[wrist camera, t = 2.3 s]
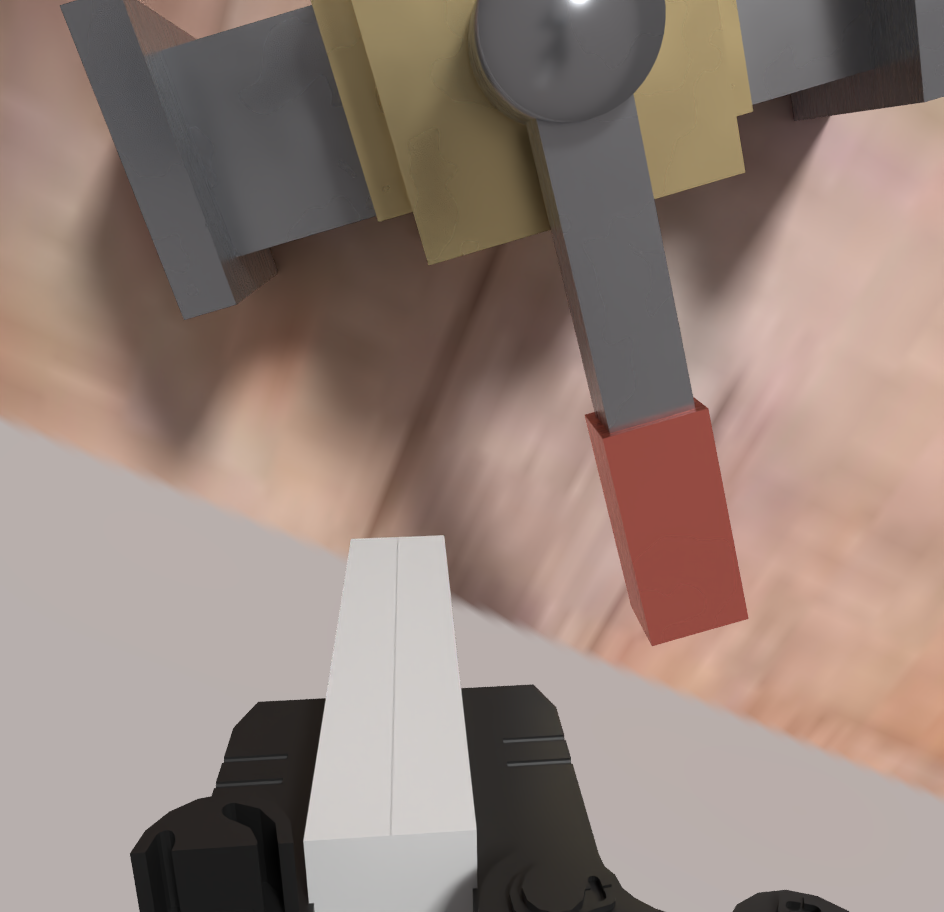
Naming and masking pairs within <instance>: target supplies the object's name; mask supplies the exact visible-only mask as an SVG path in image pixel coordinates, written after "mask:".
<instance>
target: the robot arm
mask: <svg viewBox="0 0 944 912" xmlns="http://www.w3.org/2000/svg"><path fill="white" fill-rule="evenodd" d="M130 856H131V862H132V868H133V874H134V880H135V886H136V892H137V898H138V904H139V910H140V912H664V911H661V910H658V909H655V908H653V907H651V906H649V905H647V904H645V903H643V902H641V901H640V900H638V899H636V898H634V897H633V896H632V895H631V894H629V893H628V892H627V891H625V890H624V889H623V888H622V887H621V885H620V883H619V881H618V879H617V878H616V876H615V874H613V873H612V872H611V871H610V870H608V869H607V868H606V867H605V866H604V864H603V862H602V860H601V858H600V856H599V854H598V850H597V847H596V843H595V840H594V836H593V833H592V830H591V826H590V822H589V819H588V816H587V812H586V809H585V806H584V802H583V798H582V795H581V791H580V788H579V785H578V781H577V778H576V774H575V771H574V767H573V764H571V757H570V753H569V750H568V747H567V743H566V740H564V733H563V729H562V726H561V722H560V719H559V716H558V712H557V709H556V707H555V706H554V705H553V704H552V703H551V702H550V701H549V700H548V699H547V698H546V697H545V696H544V695H543V694H542V693H541V692H540V691H539V690H538V689H537V688H536V687H535V686H534V685H516V686H497V687H478V688H461V683H460V675H459V665H458V656H457V648H456V638H455V629H454V620H453V612H452V602H451V593H450V584H449V575H448V566H447V557H446V548H445V539H444V535H439V536H414V537H389V538H365V539H351V542H350V549H349V555H348V561H347V568H346V574H345V581H344V587H343V593H342V600H341V606H340V613H339V618H338V625H337V631H336V638H335V644H334V650H333V657H332V664H331V669H330V676H329V683H328V688H327V695H326V698H324V699H305V700H287V701H267V702H258V703H257V704H256V705H255V706H254V707H253V708H252V709H251V710H250V711H249V712H248V713H247V714H246V715H245V716H244V717H243V718H242V719H241V721H240V722H239V723H238V724H237V725H236V726H235V727H234V728H233V731H232V734H231V738H230V741H229V744H228V747H227V750H226V753H225V756H224V763H222V765H221V769H220V772H219V775H218V778H217V781H216V788H214V790H213V793H212V796H211V797H206V798H201V799H197V800H195V801H192V802H190V803H188V804H186V805H184V806H181V807H179V808H177V809H174V810H172V811H170V812H169V813H167V814H166V815H165V816H163V817H162V818H161V819H160V820H158V821H157V822H156V823H154V824H153V825H152V826H151V827H150V828H148V829H147V830H146V831H145V832H144V833H143V835H142V837H141V838H140V839H139V841H138V843H137V844H136V845H135V847H134V849H133V850H132V851H131V853H130ZM733 912H849V911H847V910H845V909H843V908H841V907H839V906H837V905H835V904H832V903H831V902H828V901H826V900H824V899H822V898H820V897H818V896H814V895H809V894H804V893H799V892H794V891H789V890H780V891H771V892H761V893H757V894H755V895H753V896H752V897H750V898H748V899H746V900H744V901H743V902H741V903H739V904H737V905H736V907H735V909H734V910H733Z"/></svg>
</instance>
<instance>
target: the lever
mask: <svg viewBox="0 0 944 912" xmlns="http://www.w3.org/2000/svg"><path fill="white" fill-rule="evenodd" d="M665 21H666V5H665V0H476V2H475V4H474V7H473V11H472V14H471V17H470V23H469V29H468V50H469V57H470V62H471V67H472V70H473V73H474V76H475V78H476V80H477V82H478V85H479V87H480V88H481V90H482V91H483V93H484V95H485V96H486V97H487V99H488V100H489V101H490V102H491V103H492V105H494V106H495V107H496V108H497V109H498V110H499V111H500V112H501V113H503V114H504V115H505V116H507V117H508V118H510V119H512V120H514V121H516V122H518V123H520V124H523V125H526V127H527V132H528V136H529V140H530V144H531V148H532V153H533V157H534V161H535V165H536V169H537V173H538V178H539V182H540V186H541V190H542V194H543V199H544V203H545V207H546V211H547V215H548V219H549V224H550V228H551V232H552V236H553V240H554V244H555V249H556V253H557V257H558V261H559V265H560V270H561V274H562V278H563V282H564V286H565V290H566V295H567V299H568V303H569V307H570V311H571V316H572V320H573V324H574V328H575V332H576V336H577V341H578V345H579V349H580V353H581V357H582V362H583V366H584V370H585V374H586V378H587V382H588V387H589V391H590V395H591V399H592V403H593V408H594V412H593V413H589V414H586V415H585V419H586V423H587V427H588V431H589V435H590V439H591V443H592V447H593V451H594V455H595V460H596V464H597V468H598V472H599V476H600V480H601V484H602V488H603V492H604V497H605V501H606V505H607V509H608V513H609V517H610V521H611V525H612V529H613V533H614V538H615V542H616V546H617V550H618V554H619V558H620V562H621V566H622V570H623V575H624V579H625V583H626V587H627V591H628V595H629V599H630V603H631V607H632V609H633V611H634V613H635V615H636V616H637V618H638V620H639V622H640V624H641V626H642V628H643V630H644V632H645V634H646V636H647V637H648V639H649V641H650V643H651V645H652V646H654V645H658V644H661V643H665V642H668V641H672V640H675V639H679V638H682V637H686V636H689V635H693V634H696V633H700V632H703V631H707V630H711V629H714V628H718V627H721V626H725V625H728V624H732V623H735V622H739V621H742V620H746V619H748V614H747V609H746V603H745V598H744V593H743V588H742V582H741V577H740V572H739V567H738V562H737V556H736V551H735V546H734V541H733V535H732V530H731V525H730V520H729V515H728V509H727V504H726V499H725V494H724V488H723V483H722V478H721V473H720V467H719V462H718V457H717V452H716V447H715V441H714V436H713V431H712V426H711V420H710V415H709V410H708V408H707V407H706V406H704V405H703V404H702V403H700V402H699V401H698V400H697V399H695V398H694V397H693V394H692V389H691V384H690V379H689V374H688V369H687V364H686V359H685V354H684V348H683V343H682V338H681V333H680V328H679V323H678V318H677V313H676V308H675V303H674V298H673V293H672V287H671V282H670V277H669V272H668V267H667V262H666V257H665V252H664V247H663V242H662V237H661V232H660V226H659V221H658V216H657V211H656V206H655V201H654V196H653V191H652V186H651V181H650V176H649V171H648V166H647V160H646V155H645V150H644V145H643V140H642V135H641V130H640V125H639V120H638V115H637V110H636V105H635V99H634V93H635V92H636V90H637V89H638V88H639V87H640V86H641V84H642V83H643V82H644V80H645V79H646V77H647V76H648V74H649V73H650V71H651V69H652V67H653V65H654V63H655V61H656V59H657V56H658V53H659V51H660V48H661V44H662V40H663V36H664V30H665Z"/></svg>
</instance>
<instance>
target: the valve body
mask: <svg viewBox="0 0 944 912" xmlns="http://www.w3.org/2000/svg"><path fill="white" fill-rule="evenodd" d="M475 2H476V0H311V3H312V5H310V6H307V7H304V8H300V9H297V10H294V11H290V12H287V13H284V14H280V15H277V16H274V17H270V18H267V19H264V20H260V21H257V22H254V23H250V24H247V25H244V26H240V27H237V28H234V29H230V30H227V31H224V32H220V33H217V34H214V35H210V36H207V37H204V38H200V39H197V40H196V39H195V38H194V37H192V36H191V35H189V34H188V33H186V32H185V31H183V30H182V29H180V28H179V27H177V26H176V25H174V24H173V23H171V22H170V21H168V20H166V19H165V18H163V17H162V16H160V15H159V14H157V13H156V12H154V11H153V10H151V9H150V8H148V7H147V6H145V5H144V4H142V3H141V2H139V1H138V0H76V1H73V2H70V3H66V4H63V5H60V7H61V10H62V13H63V15H64V18H65V20H66V23H67V25H68V28H69V30H70V33H71V35H72V38H73V40H74V43H75V45H76V48H77V50H78V53H79V55H80V58H81V61H82V63H83V66H84V68H85V71H86V73H87V76H88V78H89V81H90V83H91V86H92V88H93V91H94V93H95V96H96V98H97V101H98V103H99V106H100V109H101V111H102V114H103V116H104V119H105V121H106V124H107V126H108V129H109V131H110V134H111V136H112V139H113V141H114V144H115V146H116V149H117V152H118V154H119V157H120V159H121V162H122V164H123V167H124V169H125V172H126V174H127V177H128V179H129V182H130V184H131V187H132V189H133V192H134V194H135V197H136V200H137V202H138V205H139V207H140V210H141V212H142V215H143V217H144V220H145V222H146V225H147V227H148V230H149V232H150V235H151V237H152V240H153V243H154V245H155V248H156V250H157V253H158V255H159V258H160V260H161V263H162V265H163V268H164V270H165V273H166V275H167V278H168V280H169V283H170V285H171V288H172V291H173V293H174V296H175V298H176V301H177V303H178V306H179V308H180V311H181V313H182V316H183V318H184V320H186V319H189V318H192V317H196V316H199V315H203V314H206V313H209V312H213V311H216V310H220V309H223V308H226V307H230V306H233V305H236V304H238V303H239V302H240V301H242V300H243V299H244V298H246V297H247V296H248V295H250V294H251V293H252V292H254V291H255V290H256V289H258V288H259V287H260V286H262V285H263V284H264V283H266V282H267V281H268V280H270V279H271V278H272V277H274V276H275V275H276V274H278V271H277V268H276V265H275V262H274V259H273V256H272V254H271V251H270V248H269V247H273V246H276V245H279V244H283V243H286V242H289V241H293V240H296V239H300V238H303V237H306V236H310V235H313V234H317V233H320V232H323V231H327V230H330V229H333V228H337V227H340V226H344V225H347V224H350V223H354V222H357V221H361V220H364V219H367V218H371V217H374V216H377V219H378V222H381V221H384V220H387V219H391V218H394V217H398V216H401V215H404V214H408V213H411V212H413V214H414V218H415V221H416V224H417V228H418V231H419V235H420V238H421V242H422V245H423V249H424V252H425V255H426V259H427V262H428V266H429V265H432V264H436V263H439V262H442V261H446V260H449V259H453V258H456V257H459V256H463V255H466V254H470V253H473V252H476V251H480V250H483V249H487V248H490V247H493V246H497V245H500V244H504V243H507V242H510V241H514V240H517V239H521V238H524V237H527V236H531V235H534V234H538V233H541V232H544V231H548V230H551V228H550V224H549V219H548V215H547V211H546V207H545V203H544V199H543V194H542V190H541V186H540V182H539V178H538V173H537V169H536V165H535V161H534V157H533V153H532V148H531V144H530V140H529V136H528V132H527V127H526V125H523V124H520V123H518V122H516V121H514V120H512V119H510V118H508V117H507V116H505V115H504V114H503V113H501V112H500V111H499V110H498V109H497V108H496V107H495V106H494V105H492V103H491V102H490V101H489V100H488V99H487V97H486V96H485V95H484V93H483V91H482V90H481V88H480V87H479V85H478V82H477V80H476V78H475V76H474V73H473V70H472V67H471V62H470V57H469V50H468V29H469V23H470V17H471V14H472V11H473V7H474V4H475ZM665 5H666V21H665V30H664V36H663V40H662V44H661V48H660V51H659V53H658V56H657V59H656V61H655V63H654V65H653V67H652V69H651V71H650V73H649V74H648V76H647V77H646V79H645V80H644V82H643V83H642V84H641V86H640V87H639V88H638V89H637V90H636V92H635V93H634V99H635V105H636V110H637V115H638V120H639V125H640V130H641V135H642V140H643V145H644V150H645V155H646V160H647V166H648V171H649V176H650V181H651V186H652V191H653V196H654V199H657V198H660V197H664V196H667V195H670V194H674V193H677V192H681V191H684V190H687V189H691V188H694V187H698V186H701V185H704V184H708V183H711V182H715V181H718V180H721V179H725V178H728V177H732V176H735V175H738V174H742V173H745V167H744V161H743V154H742V148H741V142H740V136H739V129H738V123H737V117H736V116H740V115H743V114H747V113H750V112H753V107H752V105H753V104H757V103H760V102H764V101H767V100H770V99H774V98H777V97H781V96H784V95H787V94H791V99H792V106H793V113H794V121H798V120H804V119H811V118H818V117H825V116H832V115H839V114H846V113H853V112H860V111H867V110H874V109H881V108H887V107H894V106H901V105H908V104H915V103H922V102H927V101H930V100H933V99H937V98H940V97H944V0H665Z"/></svg>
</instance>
